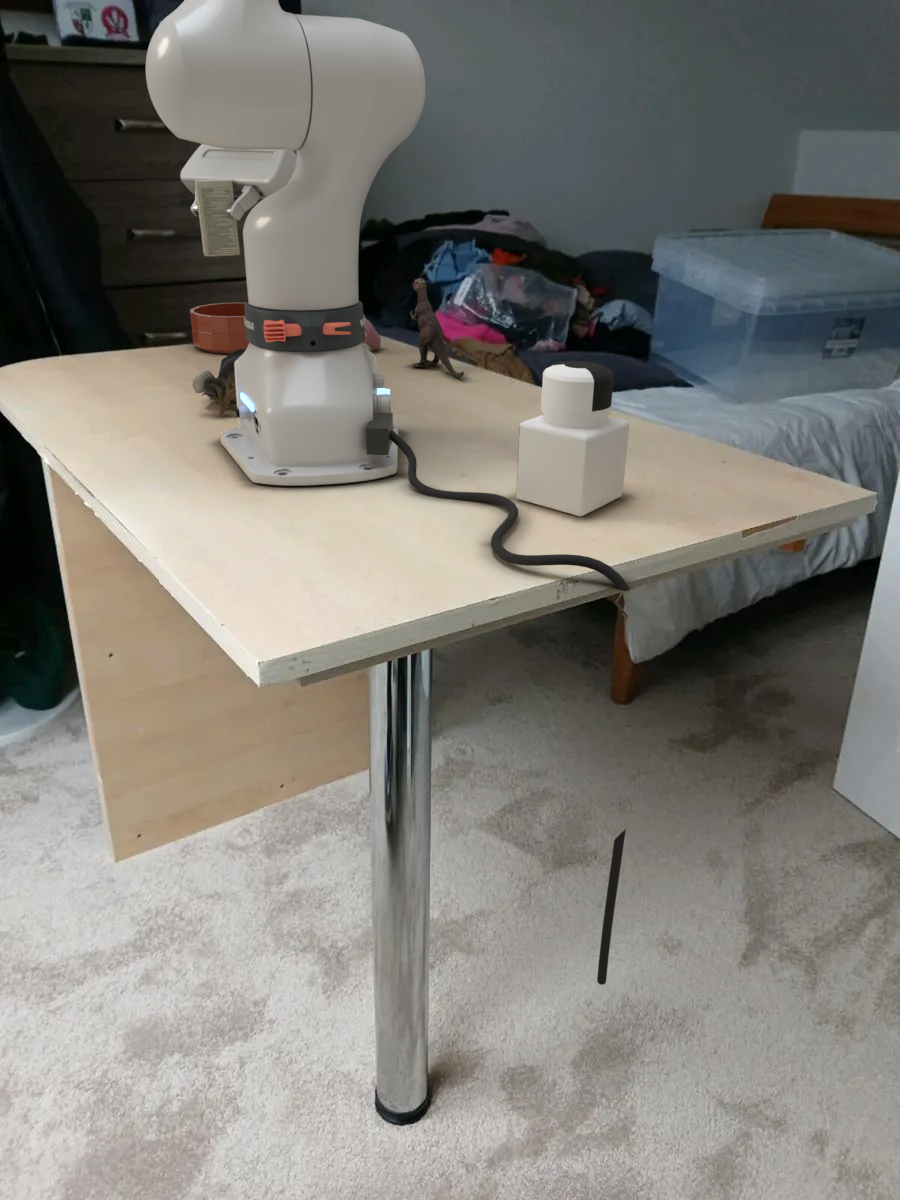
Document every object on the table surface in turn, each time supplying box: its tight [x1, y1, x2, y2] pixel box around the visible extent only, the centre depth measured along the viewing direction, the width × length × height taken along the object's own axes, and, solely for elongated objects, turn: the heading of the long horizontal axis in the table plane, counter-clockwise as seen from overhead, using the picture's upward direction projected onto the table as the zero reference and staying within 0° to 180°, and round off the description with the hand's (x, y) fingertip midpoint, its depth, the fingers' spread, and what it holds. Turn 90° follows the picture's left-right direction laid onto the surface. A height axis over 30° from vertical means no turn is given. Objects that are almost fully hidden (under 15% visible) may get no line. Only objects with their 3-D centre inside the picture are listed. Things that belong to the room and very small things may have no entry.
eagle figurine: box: [192, 349, 246, 417], centre depth 111 cm, size 8×7×9 cm
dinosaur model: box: [409, 277, 465, 378], centre depth 129 cm, size 4×12×15 cm
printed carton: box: [195, 180, 241, 257], centre depth 135 cm, size 5×4×10 cm
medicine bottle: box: [515, 360, 630, 517], centre depth 83 cm, size 7×7×12 cm
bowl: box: [189, 302, 249, 355], centre depth 144 cm, size 13×13×6 cm
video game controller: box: [363, 317, 382, 351], centre depth 142 cm, size 10×5×7 cm, turn 73°
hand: (214, 215), depth 135 cm, fingers closed on printed carton, 6 cm apart
